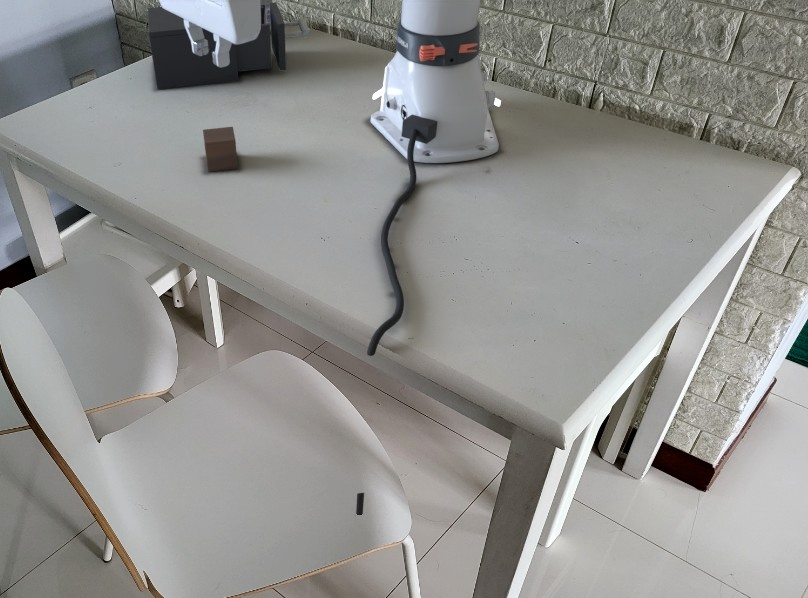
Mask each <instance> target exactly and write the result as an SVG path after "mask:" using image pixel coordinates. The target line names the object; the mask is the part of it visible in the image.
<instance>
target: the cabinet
mask: <svg viewBox="0 0 808 598" xmlns="http://www.w3.org/2000/svg"><path fill="white" fill-rule="evenodd" d="M147 24H148V25H147V27H148V29H147V31H148V39H149V44H150V50H151V56H152V57H151V58H152V63H153V72H154V76H155V82H156V90H165V89H176V88H185V87H194V86H195V87H196V86H205V85H213V84H214V85H215V84H226V83H233V82H235V83H236V82H239V80H240V79H239V71H238V67H237V54H236V44H233V43H232V45H231V48H230V51H229V59H230V63H229V65H228V66H225V67H222V68H220V67H218V66H217V65H215V64H214V63H213V57H212V52H213V51H215V49H216V43H217V41H214V35H213V33H211V32H209V31H207V30H205V29H203V28H202V31H203V34H204V39H206V40H208V49H209V52H208V54H206V55H203V56H198V55H196V54H194V53H193V51H192V44H191V40H190V38H189V35H188V33H187V31H186V28H185V26H184V19H183V18H181V17H179V16H177V15H175V14H173V13H171V12H169V11H167V10H165V9H163V8H162V6H156V7H148V8H147Z"/></svg>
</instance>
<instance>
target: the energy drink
mask: <svg viewBox="0 0 808 598" xmlns="http://www.w3.org/2000/svg"><path fill="white" fill-rule="evenodd" d="M270 3H273V0H260V5H261V6H263V7H264V24H270V33H271V19H270Z"/></svg>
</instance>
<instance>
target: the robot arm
mask: <svg viewBox="0 0 808 598" xmlns="http://www.w3.org/2000/svg"><path fill="white" fill-rule="evenodd" d="M481 1H482V0H402V1H401V14H400V19H399V21H398V22H397V29H396V33H395V40H396V41H395V49H396V52H395V54H394V55H393V58H392V59H391V60H390V61H389V62H388V63H387V65H386V66H385V67H384V76H383V81H382V82H383V83H382V88H380V89H379V90H378V91H376V92H374V93H373V94H372V100H376V99H378V98H379V97H381V101H380V109H379V110H376V111H374V112H373V113H372V114H371V115H370V123H371V125H372V126H374V128H376V130H377V131H379V133H380V134H381V135H382V136H383V137H384V138H385V139H386V140H388V142H389V143H390V144H391V145H392V146H393V147H394V148H395V149H396V150H397V151H398V152H399V153H400V154H401V155H402V156H403V158H405V159H406V160H407V166H408V170H409V183H408V186H407V188H406V189H405V191H404V192H403V193H402V194H401V195H400V196H399V197H398V198H397V199H396V200H395V202H394V204H393V206H392V207H391V208H390V209H391V210H390V211H389V212H388V215H387V217H386V218H385V221H384V223H383V225H382V228H381V233H380V247H381V251H382V255H383V259H384V261H385V262H384V263H385V265H386V269H387V274H388V278H389V281H390V284H391V288H392V289H393V292H394V296H395V303H396V304H395V309H394V313H393V314H392V315H391V316H390V318H388V319H387V320H386V321H384V322H383V323H382V324H381V325H380V326H378V328H377V329H376V330H375V331H374V333H373V335H372V337H371V338H370V341H369V344H368V347H367V351H366V355H367V356H368V357H372V356H374V355H376V351H377V349H378V345H379V344H380V341H381V339H382V337H383V336H384V335H385V334H386V332H387V331H389V330H390V329H391V328H392V327H394V326H395V325H396V324H397V323H398V322H399V321H400V320H401V318H402V316H403V314H404V309H405V297H404V293H403V289H402V286H401V283H400V281H399V278H398V275H397V271H396V267H395V263H394V259H393V256H392V254H391V250H390V247H389V233H390V229H391V225H392V223H393V222H394V219H395V217H396V216H397V214H398V212H399V210H400V208H401V207H402V205H403V203H404V202H405V201H406V200H407V199H408V198H409V197H410V196H411V195H412V194H413V193H414V190H415V189H416V185H417V169H416V165H415V162H416V163H421V164H422V163H423V164H445V163H446V164H447V163H458V162H467V161H472V160H478V159H481V158H485V157H489V156H491V155H494V154H495V153H497V152H498V151H499V140H498V137H497V134H496V131H495V127H494V124H493V121H492V118H491V114H490V111H489V108H492V107H494V106H496V107H500V106H501V102H502V100H500V99H499V98H497V97H496V91H495V90H492V89H491V90H486V86H485V83H487V81H488V73H487V72H483V70H482V65H481V56H480V55H479V53H480V42H481V23H480V21H479V14H480V10H481V9H480V8H481V3H482V2H481ZM158 2H159V4H160V7H162V8H163V9H165V10H167V11H169V12H171V13H173V14H175V15H177V16H179V17H181V18H183V19H184V26H185V28H186V31H187V33H188V35H189V38H190V40H191V44H192V51H193V53H194V54H196V55H198V56H203V55H206V54H208V52H209V49H208V40H206V39H204V34H203V31H202V28H203V29H205V30H207V31H209V32H211V33H213V35H214V41H217V43H216V49H215V51H213V52H212V57H213V63H214V64H215V65H217V66H218V67H220V68H222V67H225V66H228V65H229V63H230V59H229V51H230V48H231V45H232V43H233V44H236V45H238V44H242V43H246V42H249V41H252V40H255V39H256V38H257V37H258V35H259V32H260V29H261V5H260V0H158ZM364 501H365V492H358V493H357V494H356V507H355V508H356V509H355V515H356V514H357V515H362V514H363V515H364Z"/></svg>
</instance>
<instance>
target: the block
mask: <svg viewBox="0 0 808 598" xmlns="http://www.w3.org/2000/svg"><path fill="white" fill-rule="evenodd" d="M202 137H203V143H204V151H205V160H206V161H205V162H206V169H207V172H208V173H212V172H220V171H231V170H238V169H239V165H238V154H237V142H236V141H237V140H236V136H235V130H234V127H233V126H226V127H217V128H216V127H215V128H206V129H202Z"/></svg>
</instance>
